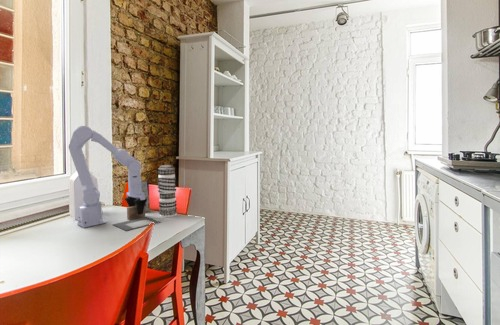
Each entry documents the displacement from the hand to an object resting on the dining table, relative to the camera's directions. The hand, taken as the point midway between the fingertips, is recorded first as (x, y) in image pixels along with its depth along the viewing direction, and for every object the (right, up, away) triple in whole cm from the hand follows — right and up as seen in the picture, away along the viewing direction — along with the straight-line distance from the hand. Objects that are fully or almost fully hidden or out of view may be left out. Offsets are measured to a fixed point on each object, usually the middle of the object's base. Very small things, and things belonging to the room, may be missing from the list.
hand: (136, 212), depth 141 cm
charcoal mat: (+4, -3, -9) cm, 10 cm away
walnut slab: (0, -3, 0) cm, 3 cm away
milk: (-29, -3, +7) cm, 30 cm away
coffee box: (-4, -2, +14) cm, 15 cm away
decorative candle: (+14, -2, +5) cm, 15 cm away
